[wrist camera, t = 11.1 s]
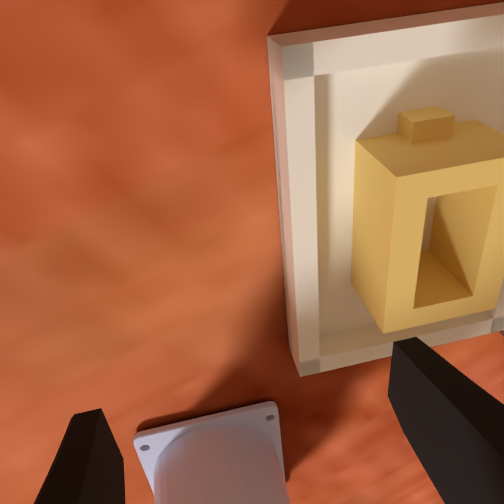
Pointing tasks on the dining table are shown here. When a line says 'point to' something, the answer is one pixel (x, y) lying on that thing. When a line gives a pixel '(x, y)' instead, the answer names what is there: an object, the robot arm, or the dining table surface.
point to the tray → (343, 158)
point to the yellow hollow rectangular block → (413, 217)
